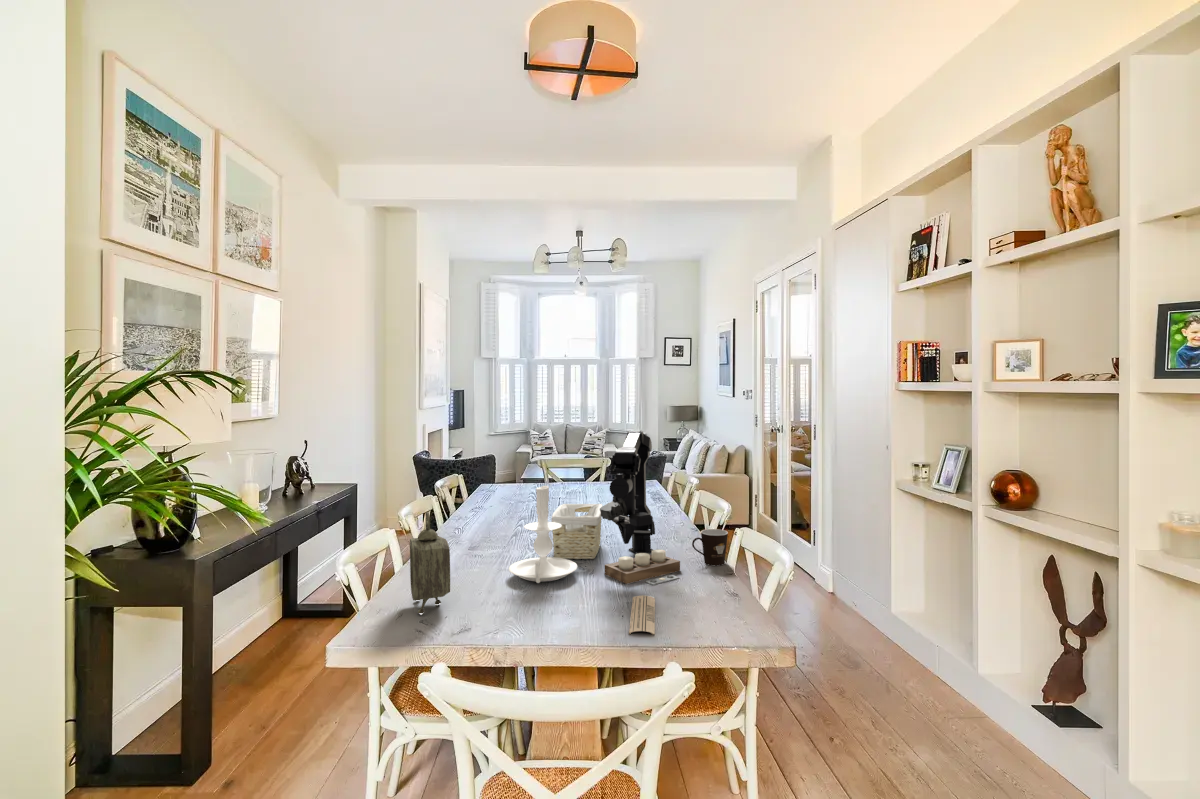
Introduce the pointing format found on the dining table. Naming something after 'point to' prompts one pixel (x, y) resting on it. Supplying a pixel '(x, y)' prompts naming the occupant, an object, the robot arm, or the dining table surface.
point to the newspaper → (643, 614)
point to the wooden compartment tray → (642, 570)
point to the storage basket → (577, 531)
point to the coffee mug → (713, 546)
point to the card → (661, 579)
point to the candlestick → (542, 548)
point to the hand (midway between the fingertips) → (626, 543)
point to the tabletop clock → (429, 566)
